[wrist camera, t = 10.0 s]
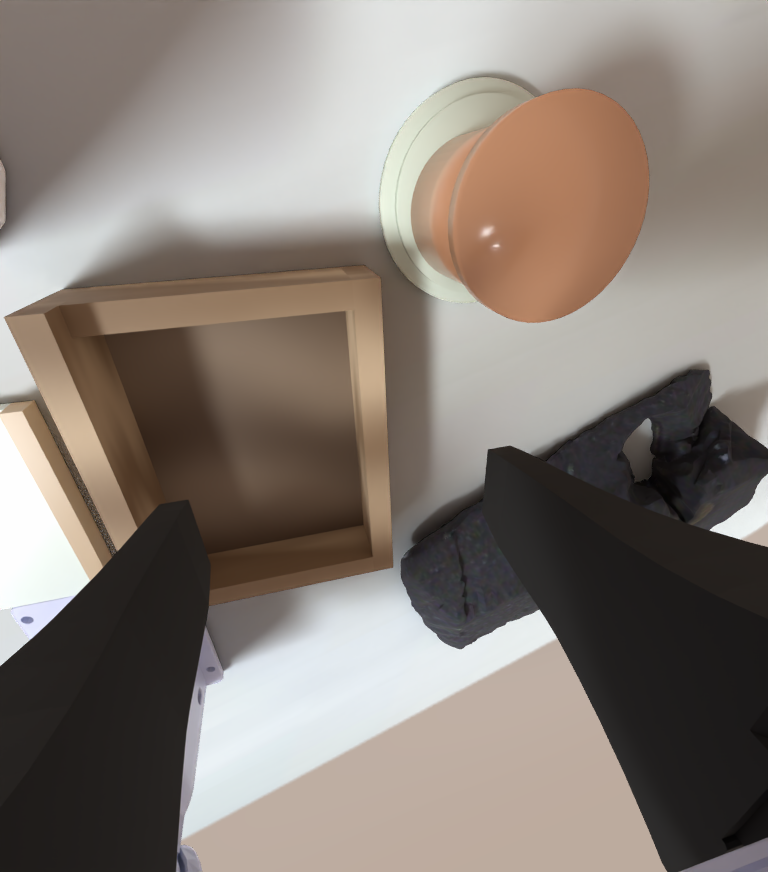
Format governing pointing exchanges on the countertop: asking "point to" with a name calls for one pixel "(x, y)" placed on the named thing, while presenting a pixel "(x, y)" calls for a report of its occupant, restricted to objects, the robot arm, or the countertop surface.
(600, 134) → the tan bell-shaped knob
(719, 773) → the robot arm
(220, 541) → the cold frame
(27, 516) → the frame lid
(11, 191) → the countertop surface
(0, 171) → the white cup
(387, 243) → the saucer
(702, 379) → the dark slate chunk
